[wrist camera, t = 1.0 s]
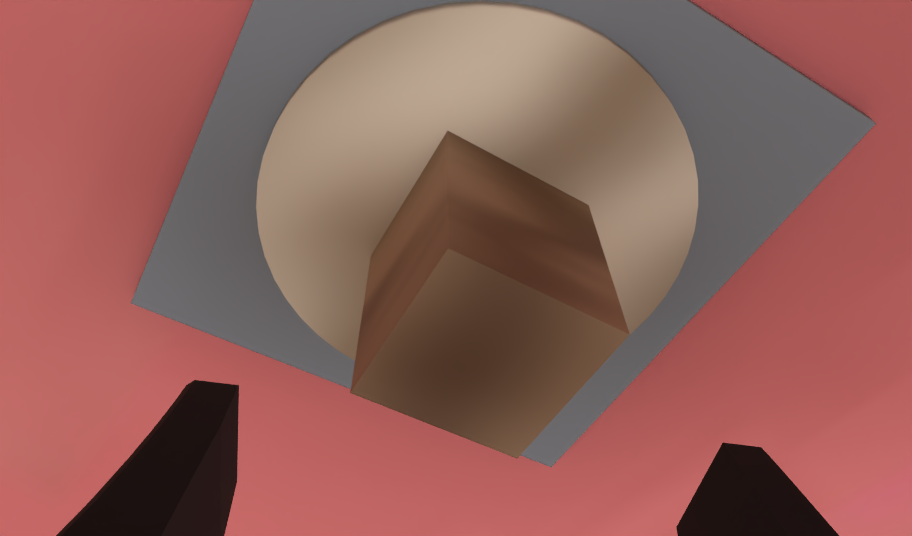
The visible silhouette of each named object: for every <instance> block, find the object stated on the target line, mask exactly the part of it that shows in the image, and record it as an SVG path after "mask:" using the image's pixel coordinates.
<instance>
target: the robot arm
mask: <svg viewBox="0 0 912 536" xmlns="http://www.w3.org/2000/svg"><path fill="white" fill-rule="evenodd" d="M238 400H239V385H231V384H223V383H214V382H206V381H198V380H194V381H193V382H191V383H189V384H188V385H186V387H185V388H184V389H183V391H182V392H181V394H180V395H179V396H178V398H177V399H176V400H175V402H174V403H173V404H172V406H171V407H170V408H169V410H168V411H167V412H166V413H165V415H164V416H163V417H162V419H161V420H160V421H159V422H158V424H157V425H156V426H155V427H154V429H153V430H152V431H151V432H150V433H149V435H148V436H147V437H146V438H145V439H144V441H143V442H142V443H141V444H140V445H139V447H138V448H137V449H136V450H135V451H134V453H133V454H132V455H131V456H130V457H129V458H128V459H127V461H126V462H125V463H124V464H123V465H122V466H121V467H120V468H119V469H118V471H117V472H116V473H115V474H114V475H113V476H112V477H111V478H110V480H109V481H108V482H107V483H106V484H105V485H104V486H103V487H102V488H101V490H100V491H99V492H98V493H97V494H96V495H95V496H94V497H93V498H92V499H91V501H90V502H89V503H88V504H87V505H86V506H85V507H84V508H83V509H82V510H81V511H80V512H79V513H78V514H77V515H76V516H75V517H74V518H73V519H72V520H71V521H70V522H69V523H68V524H67V525H66V526H65V527H64V528H63V529H62V530H61V531H60V532H59V533H58V534H57V535H56V536H224V534H225V530H226V526H227V521H228V517H229V513H230V509H231V504H232V500H233V496H234V492H235V487H236V483H237V451H238ZM677 533H678V536H839V535H838V534H837V533H836V532H835V530H834V529H833V528H832V527H831V526H830V525H829V524H828V522H827V521H826V520H825V519H824V518H823V517H822V516H821V514H820V513H819V512H818V511H817V510H816V509H815V507H814V506H813V505H812V504H811V503H810V502H809V501H808V499H807V498H806V497H805V496H804V495H803V494H802V493H801V491H800V490H799V489H798V488H797V487H796V486H795V484H794V483H793V482H792V481H791V480H790V479H789V478H788V476H787V475H786V474H785V473H784V472H783V471H782V470H781V469H780V467H779V466H778V465H777V464H776V463H775V462H774V461H773V460H772V459H771V458H770V456H769V455H768V454H767V453H766V452H765V451H764V450H763V449H762V448H761V447H754V446H746V445H737V444H729V443H722V445H721V447H720V449H719V451H718V453H717V454H716V456H715V458H714V460H713V462H712V464H711V465H710V467H709V469H708V471H707V473H706V474H705V476H704V478H703V480H702V482H701V484H700V485H699V487H698V489H697V491H696V493H695V494H694V496H693V498H692V500H691V502H690V504H689V505H688V507H687V509H686V511H685V513H684V515H683V516H682V518H681V520H680V522H679V524H678V525H677Z"/></svg>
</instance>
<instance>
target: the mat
mask: <svg viewBox="0 0 912 536" xmlns="http://www.w3.org/2000/svg"><path fill="white" fill-rule="evenodd" d="M467 1H496V2H512V3H518V4H523V5H528V6H533V7H538V8H543V9H547V10H550V11H552V12H555V13H558V14H561V15H564V16H567V17H569V18H572V19H575V20H577V21H579V22H581V23H583V24H585V25H587V26H589V27H591V28H593V29H595V30H597V31H598V32H600V33H602V34H604V35H605V36H607V37H608V38H610V39H611V40H612V41H614V42H615V43H616V44H618V45H619V46H621V47H622V48H623V49H625V50H626V51H628V52H629V53H630V54H631V55H632V56H633V57H634V58H635V59H636V60H637V61H638V62H639V63H640V64H641V65H642V66H643V67H644V68H645V69H646V70H647V71H648V72H649V73H650V74H651V76H652V77H653V78H654V80H655V81H656V82H657V84H658V85H659V86H660V88H661V89H662V90H663V92H664V93H665V94H666V96H667V97H668V99H669V101H670V102H671V104H672V105H673V107H674V109H675V111H676V113H677V115H678V117H679V119H680V120H681V122H682V124H683V126H684V128H685V131H686V133H687V136H688V139H689V142H690V145H691V148H692V151H693V154H694V160H695V166H696V171H697V177H698V211H697V218H696V226H695V231H694V235H693V238H692V242H691V245H690V248H689V252H688V255H687V257H686V259H685V261H684V264H683V266H682V268H681V270H680V272H679V275H678V277H677V278H676V280H675V281H674V283H673V285H672V286H671V288H670V290H669V291H668V293H667V294H666V296H665V297H664V299H663V300H662V301H661V302H660V304H659V305H658V306H657V307H656V309H655V310H654V311H653V312H652V313H651V315H650V316H649V317H648V318H647V319H646V320H645V321H644V322H643V323H642V324H641V325H640V326H639V327H638V328H637V329H636V330H634V331H633V332H632V333H631V334H630V335H629V336H628V337H627V338H626V339H625V341H624V342H623V343H622V344H621V345H620V346H619V347H618V348H617V349H616V350H615V352H614V353H613V354H612V355H611V356H610V357H609V358H608V359H607V360H606V361H605V363H604V364H603V365H602V366H601V367H600V368H599V369H598V370H597V371H596V372H595V374H594V375H593V376H592V377H591V378H590V379H589V380H588V381H587V382H586V383H585V385H584V386H583V387H582V388H581V389H580V390H579V391H578V392H577V393H576V394H575V396H574V397H573V398H572V399H571V400H570V401H569V402H568V403H567V404H566V405H565V406H564V408H563V409H562V410H561V411H560V412H559V413H558V414H557V415H556V416H555V417H554V419H553V420H552V421H551V422H550V423H549V424H548V425H547V426H546V427H545V428H544V430H543V431H542V432H541V433H540V434H539V435H538V436H537V437H536V438H535V439H534V441H533V442H532V443H531V444H530V445H529V446H528V447H527V448H526V449H525V450H524V452H523V453H522V454H521V456H524V457H526V458H529V459H531V460H534V461H537V462H539V463H542V464H544V465H547V466H549V467H552V466H553V465H554V464H555V463H556V462H557V460H558V459H559V458H560V457H561V456H562V455H563V454H564V453H565V452H566V451H567V450H568V449H569V448H570V447H571V446H572V445H573V444H574V442H575V441H576V440H577V439H578V438H579V437H580V436H581V435H582V434H583V433H584V432H585V431H586V430H587V429H588V428H589V427H590V426H591V425H592V423H593V422H594V421H595V420H596V419H597V418H598V417H599V416H600V415H601V414H602V413H603V412H604V411H605V410H606V409H607V408H608V407H609V405H610V404H611V403H612V402H613V401H614V400H615V399H616V398H617V397H618V396H619V395H620V394H621V393H622V392H623V391H624V390H625V389H626V387H627V386H628V385H629V384H630V383H631V382H632V381H633V380H634V379H635V378H636V377H637V376H638V375H639V374H640V373H641V372H642V371H643V370H644V368H645V367H646V366H647V365H648V364H649V363H650V362H651V361H652V360H653V359H654V358H655V357H656V356H657V355H658V354H659V353H660V352H661V350H662V349H663V348H664V347H665V346H666V345H667V344H668V343H669V342H670V341H671V340H672V339H673V338H674V337H675V336H676V335H677V334H678V332H679V331H680V330H681V329H682V328H683V327H684V326H685V325H686V324H687V323H688V322H689V321H690V320H691V319H692V318H693V317H694V316H695V314H696V313H697V312H698V311H699V310H700V309H701V308H702V307H703V306H704V305H705V304H706V303H707V302H708V301H709V300H710V299H711V298H712V297H713V295H714V294H715V293H716V292H717V291H718V290H719V289H720V288H721V287H722V286H723V285H724V284H725V283H726V282H727V281H728V280H729V279H730V277H731V276H732V275H733V274H734V273H735V272H736V271H737V270H738V269H739V268H740V267H741V266H742V265H743V264H744V263H745V262H746V261H747V259H748V258H749V257H750V256H751V255H752V254H753V253H754V252H755V251H756V250H757V249H758V248H759V247H760V246H761V245H762V244H763V243H764V242H765V240H766V239H767V238H768V237H769V236H770V235H771V234H772V233H773V232H774V231H775V230H776V229H777V228H778V227H779V226H780V225H781V224H782V222H783V221H784V220H785V219H786V218H787V217H788V216H789V215H790V214H791V213H792V212H793V211H794V210H795V209H796V208H797V207H798V206H799V204H800V203H801V202H802V201H803V200H804V199H805V198H806V197H807V196H808V195H809V194H810V193H811V192H812V191H813V190H814V189H815V188H816V187H817V185H818V184H819V183H820V182H821V181H822V180H823V179H824V178H825V177H826V176H827V175H828V174H829V173H830V172H831V171H832V170H833V169H834V167H835V166H836V165H837V164H838V163H839V162H840V161H841V160H842V159H843V158H844V157H845V156H846V155H847V154H848V153H849V152H850V151H851V149H852V148H853V147H854V146H855V145H856V144H857V143H858V142H859V141H860V140H861V139H862V138H863V137H864V136H865V135H866V134H867V133H868V132H869V130H870V129H871V128H872V127H873V126H874V125H875V124H876V123H875V122H874V121H873V120H872V119H871V118H869V117H868V116H867V115H865V114H864V113H862V112H861V111H859V110H857V109H856V108H854V107H853V106H851V105H850V104H848V103H847V102H845V101H844V100H842V99H841V98H839V97H837V96H836V95H834V94H833V93H831V92H830V91H828V90H827V89H825V88H824V87H822V86H820V85H819V84H817V83H816V82H814V81H813V80H811V79H810V78H808V77H807V76H805V75H804V74H802V73H800V72H799V71H797V70H796V69H794V68H793V67H791V66H790V65H788V64H787V63H785V62H784V61H782V60H780V59H779V58H777V57H776V56H774V55H773V54H771V53H770V52H768V51H767V50H765V49H764V48H762V47H760V46H759V45H757V44H756V43H754V42H753V41H751V40H750V39H748V38H747V37H745V36H744V35H742V34H740V33H739V32H737V31H736V30H734V29H733V28H731V27H730V26H728V25H727V24H725V23H724V22H722V21H720V20H719V19H717V18H716V17H714V16H713V15H711V14H710V13H708V12H707V11H705V10H704V9H702V8H700V7H699V6H697V5H696V4H694V3H693V2H691V1H690V0H254V1H253V3H252V6H251V8H250V11H249V13H248V16H247V18H246V21H245V23H244V25H243V28H242V30H241V33H240V35H239V38H238V40H237V43H236V45H235V48H234V50H233V53H232V55H231V58H230V60H229V62H228V65H227V67H226V70H225V72H224V75H223V77H222V80H221V82H220V85H219V87H218V90H217V92H216V94H215V97H214V99H213V102H212V104H211V107H210V109H209V112H208V114H207V117H206V119H205V122H204V124H203V127H202V129H201V131H200V134H199V136H198V139H197V141H196V144H195V146H194V149H193V151H192V154H191V156H190V159H189V161H188V163H187V166H186V168H185V171H184V173H183V176H182V178H181V181H180V183H179V186H178V188H177V191H176V193H175V196H174V198H173V200H172V203H171V205H170V208H169V210H168V213H167V215H166V218H165V220H164V223H163V225H162V228H161V230H160V232H159V235H158V237H157V240H156V242H155V245H154V247H153V250H152V252H151V255H150V257H149V260H148V262H147V265H146V267H145V269H144V272H143V274H142V277H141V279H140V282H139V284H138V287H137V289H136V292H135V294H134V297H133V299H132V301H131V303H132V304H134V305H137V306H139V307H142V308H144V309H147V310H150V311H152V312H155V313H157V314H160V315H162V316H165V317H168V318H170V319H173V320H175V321H178V322H180V323H183V324H185V325H188V326H191V327H193V328H196V329H198V330H201V331H203V332H206V333H209V334H211V335H214V336H216V337H219V338H221V339H224V340H226V341H229V342H232V343H234V344H237V345H239V346H242V347H244V348H247V349H250V350H252V351H255V352H257V353H260V354H262V355H265V356H267V357H270V358H273V359H275V360H278V361H280V362H283V363H285V364H288V365H291V366H293V367H296V368H298V369H301V370H303V371H306V372H308V373H311V374H314V375H316V376H319V377H321V378H324V379H326V380H329V381H332V382H334V383H337V384H339V385H342V386H344V387H347V388H349V389H351V385H352V378H353V372H354V365H355V361H354V360H353V359H351V358H349V357H348V356H346V355H345V354H343V353H341V352H340V351H338V350H336V349H335V348H334V347H333V346H331V345H330V344H329V343H327V342H326V341H325V340H324V339H322V338H321V337H320V336H319V335H317V334H316V333H315V332H314V331H313V330H312V329H311V328H310V327H309V326H308V325H307V324H306V323H305V322H304V321H303V320H302V319H301V318H300V316H299V315H298V314H297V313H296V311H295V310H294V309H293V307H292V306H291V305H290V304H289V302H288V301H287V300H286V298H285V297H284V295H283V293H282V291H281V290H280V288H279V286H278V285H277V283H276V281H275V280H274V278H273V275H272V273H271V270H270V268H269V266H268V263H267V261H266V258H265V256H264V252H263V248H262V244H261V240H260V236H259V232H258V222H257V211H256V200H257V182H258V177H259V172H260V168H261V163H262V158H263V155H264V152H265V149H266V147H267V144H268V142H269V139H270V136H271V134H272V131H273V129H274V127H275V125H276V122H277V120H278V118H279V117H280V115H281V113H282V111H283V110H284V108H285V106H286V104H287V103H288V101H289V99H290V97H291V96H292V95H293V93H294V92H295V91H296V89H297V88H298V87H299V86H300V84H301V83H302V82H303V81H304V79H305V78H306V77H307V75H308V74H309V73H310V72H311V71H312V70H313V69H314V68H315V67H316V66H317V65H319V64H320V63H321V62H322V61H323V60H324V59H325V58H326V57H327V56H328V55H329V54H330V53H331V52H333V51H334V50H336V49H337V48H338V47H340V46H341V45H343V44H344V43H345V42H347V41H348V40H350V39H351V38H353V37H354V36H355V35H357V34H359V33H361V32H363V31H365V30H367V29H369V28H371V27H373V26H375V25H376V24H378V23H380V22H382V21H384V20H387V19H390V18H393V17H395V16H398V15H401V14H404V13H407V12H410V11H412V10H415V9H420V8H425V7H430V6H435V5H440V4H444V3H452V2H467Z"/></svg>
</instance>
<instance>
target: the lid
mask: <svg viewBox="0 0 912 536" xmlns="http://www.w3.org/2000/svg"><path fill="white" fill-rule="evenodd" d="M256 211H257V222H258V232H259V236H260V240H261V244H262V248H263V252H264V256H265V258H266V261H267V263H268V266H269V268H270V270H271V273H272V275H273V278H274V280H275V281H276V283H277V285H278V286H279V288H280V290H281V291H282V293H283V295H284V297H285V298H286V300H287V301H288V302H289V304H290V305H291V306H292V307H293V309H294V310H295V311H296V313H297V314H298V315H299V316H300V318H301V319H302V320H303V321H304V322H305V323H306V324H307V325H308V326H309V327H310V328H311V329H312V330H313V331H314V332H315V333H316V334H317V335H319V336H320V337H321V338H322V339H324V340H325V341H326V342H327V343H329V344H330V345H331V346H333V347H334V348H335V349H336V350H338V351H340V352H341V353H343V354H345V355H346V356H348V357H349V358H351V359H353V360H354V361H355V365H354V372H353V378H352V385H351V392H350V393H352V394H355V395H357V396H360V397H362V398H365V399H367V400H370V401H372V402H375V403H377V404H380V405H383V406H385V407H388V408H390V409H393V410H395V411H398V412H400V413H403V414H405V415H408V416H411V417H413V418H416V419H418V420H421V421H423V422H426V423H428V424H431V425H433V426H436V427H438V428H441V429H444V430H446V431H449V432H451V433H454V434H456V435H459V436H461V437H464V438H466V439H469V440H471V441H474V442H477V443H479V444H482V445H484V446H487V447H489V448H492V449H494V450H497V451H499V452H502V453H504V454H507V455H510V456H512V457H515V458H518V457H519V456H520V455H521V454H522V453H523V452H524V450H525V449H526V448H527V447H528V446H529V445H530V444H531V443H532V442H533V441H534V439H535V438H536V437H537V436H538V435H539V434H540V433H541V432H542V431H543V430H544V428H545V427H546V426H547V425H548V424H549V423H550V422H551V421H552V420H553V419H554V417H555V416H556V415H557V414H558V413H559V412H560V411H561V410H562V409H563V408H564V406H565V405H566V404H567V403H568V402H569V401H570V400H571V399H572V398H573V397H574V396H575V394H576V393H577V392H578V391H579V390H580V389H581V388H582V387H583V386H584V385H585V383H586V382H587V381H588V380H589V379H590V378H591V377H592V376H593V375H594V374H595V372H596V371H597V370H598V369H599V368H600V367H601V366H602V365H603V364H604V363H605V361H606V360H607V359H608V358H609V357H610V356H611V355H612V354H613V353H614V352H615V350H616V349H617V348H618V347H619V346H620V345H621V344H622V343H623V342H624V341H625V339H626V338H627V337H628V336H629V335H630V334H631V333H632V332H633V331H634V330H636V329H637V328H638V327H639V326H640V325H641V324H642V323H643V322H644V321H645V320H646V319H647V318H648V317H649V316H650V315H651V313H652V312H653V311H654V310H655V309H656V307H657V306H658V305H659V304H660V302H661V301H662V300H663V299H664V297H665V296H666V294H667V293H668V291H669V290H670V288H671V286H672V285H673V283H674V281H675V280H676V278H677V277H678V275H679V272H680V270H681V268H682V266H683V264H684V261H685V259H686V257H687V255H688V252H689V248H690V245H691V242H692V238H693V235H694V231H695V226H696V218H697V211H698V177H697V171H696V166H695V160H694V154H693V151H692V148H691V145H690V142H689V139H688V136H687V133H686V131H685V128H684V126H683V124H682V122H681V120H680V119H679V117H678V115H677V113H676V111H675V109H674V107H673V105H672V104H671V102H670V101H669V99H668V97H667V96H666V94H665V93H664V92H663V90H662V89H661V88H660V86H659V85H658V84H657V82H656V81H655V80H654V78H653V77H652V76H651V74H650V73H649V72H648V71H647V70H646V69H645V68H644V67H643V66H642V65H641V64H640V63H639V62H638V61H637V60H636V59H635V58H634V57H633V56H632V55H631V54H630V53H629V52H628V51H626V50H625V49H623V48H622V47H621V46H619V45H618V44H616V43H615V42H614V41H612V40H611V39H610V38H608V37H607V36H605V35H604V34H602V33H600V32H598V31H597V30H595V29H593V28H591V27H589V26H587V25H585V24H583V23H581V22H579V21H577V20H575V19H572V18H569V17H567V16H564V15H561V14H558V13H555V12H552V11H550V10H547V9H543V8H538V7H533V6H528V5H523V4H518V3H512V2H496V1H467V2H452V3H444V4H440V5H435V6H430V7H425V8H420V9H415V10H412V11H410V12H407V13H404V14H401V15H398V16H395V17H393V18H390V19H387V20H384V21H382V22H380V23H378V24H376V25H375V26H373V27H371V28H369V29H367V30H365V31H363V32H361V33H359V34H357V35H355V36H354V37H353V38H351V39H350V40H348V41H347V42H345V43H344V44H343V45H341V46H340V47H338V48H337V49H336V50H334V51H333V52H331V53H330V54H329V55H328V56H327V57H326V58H325V59H324V60H323V61H322V62H321V63H320V64H319V65H317V66H316V67H315V68H314V69H313V70H312V71H311V72H310V73H309V74H308V75H307V77H306V78H305V79H304V81H303V82H302V83H301V84H300V86H299V87H298V88H297V89H296V91H295V92H294V93H293V95H292V96H291V97H290V99H289V101H288V103H287V104H286V106H285V108H284V110H283V111H282V113H281V115H280V117H279V118H278V120H277V122H276V125H275V127H274V129H273V131H272V134H271V136H270V139H269V142H268V144H267V147H266V149H265V152H264V155H263V158H262V163H261V168H260V172H259V177H258V182H257V200H256Z"/></svg>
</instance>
